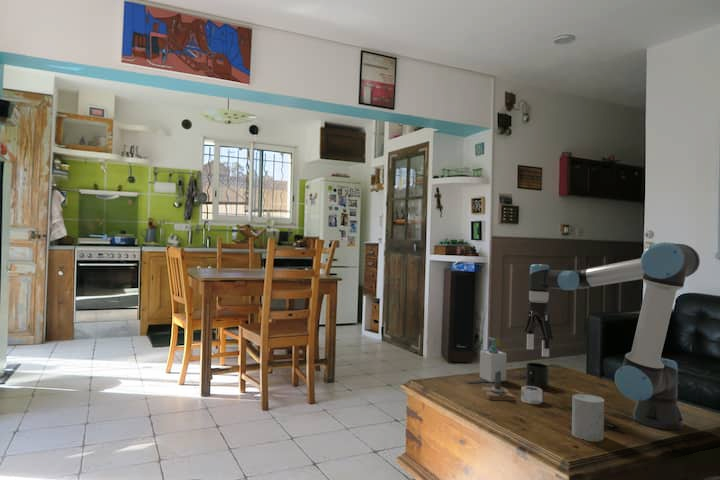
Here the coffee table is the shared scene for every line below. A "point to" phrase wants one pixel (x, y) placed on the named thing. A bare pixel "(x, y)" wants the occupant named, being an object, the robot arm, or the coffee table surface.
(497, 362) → the soap bottle
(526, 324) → the robot arm
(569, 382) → the coffee table surface
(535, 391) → the ring
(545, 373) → the mug
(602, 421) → the white cylinder
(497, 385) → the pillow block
